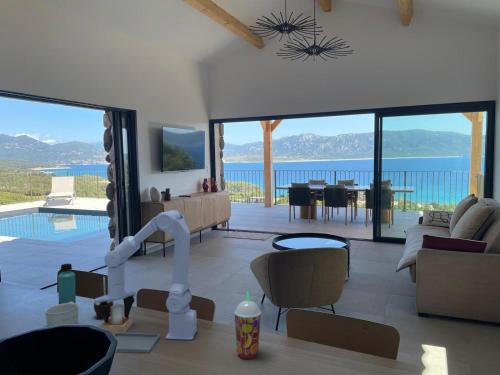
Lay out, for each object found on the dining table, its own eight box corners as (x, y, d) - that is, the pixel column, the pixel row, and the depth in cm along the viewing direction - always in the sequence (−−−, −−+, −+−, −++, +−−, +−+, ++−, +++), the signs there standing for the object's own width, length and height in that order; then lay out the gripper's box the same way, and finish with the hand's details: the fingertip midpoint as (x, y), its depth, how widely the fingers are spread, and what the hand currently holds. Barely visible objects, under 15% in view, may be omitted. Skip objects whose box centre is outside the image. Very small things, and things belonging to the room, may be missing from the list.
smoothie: (235, 348, 124) (235, 287, 123) (260, 348, 124) (261, 288, 123) (233, 361, 116) (233, 296, 115) (260, 361, 116) (261, 296, 115)
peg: (124, 326, 141) (124, 305, 140) (119, 330, 137) (119, 308, 136) (113, 326, 141) (113, 304, 141) (109, 330, 137) (108, 308, 137)
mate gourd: (102, 322, 145) (101, 283, 145) (88, 318, 149) (88, 280, 149) (117, 316, 152) (117, 279, 151) (104, 312, 156) (104, 276, 155)
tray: (160, 338, 132) (160, 333, 132) (149, 354, 120) (149, 349, 120) (115, 336, 133) (115, 332, 133) (99, 352, 121) (99, 348, 121)
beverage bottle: (79, 311, 156) (78, 263, 156) (64, 316, 151) (63, 266, 150) (70, 308, 160) (69, 261, 159) (54, 313, 154) (54, 264, 154)
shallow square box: (132, 325, 143) (132, 317, 143) (123, 334, 134) (123, 326, 134) (110, 324, 143) (110, 316, 143) (99, 334, 135) (99, 325, 135)
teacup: (65, 336, 133) (65, 313, 133) (38, 333, 135) (38, 311, 135) (89, 321, 147) (89, 300, 146) (65, 318, 149) (64, 298, 149)
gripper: (130, 277, 146) (130, 311, 146) (91, 284, 136) (92, 321, 137) (138, 280, 141) (139, 317, 141) (99, 288, 131) (99, 327, 132)
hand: (116, 319), depth 139 cm, fingers open, 7 cm apart
